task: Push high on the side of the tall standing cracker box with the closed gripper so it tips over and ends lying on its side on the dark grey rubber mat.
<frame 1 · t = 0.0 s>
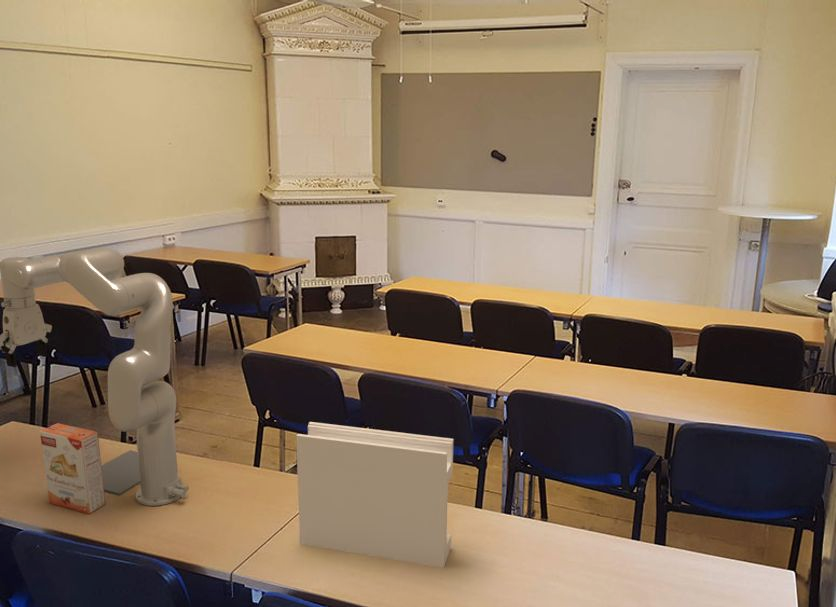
hand: (27, 361, 203), 31 cm above the table, tool pointing down, fingers open, 9 cm apart
cracker box: (77, 505, 188), on the table
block: (375, 546, 171), on the table
mat: (125, 472, 205), on the table
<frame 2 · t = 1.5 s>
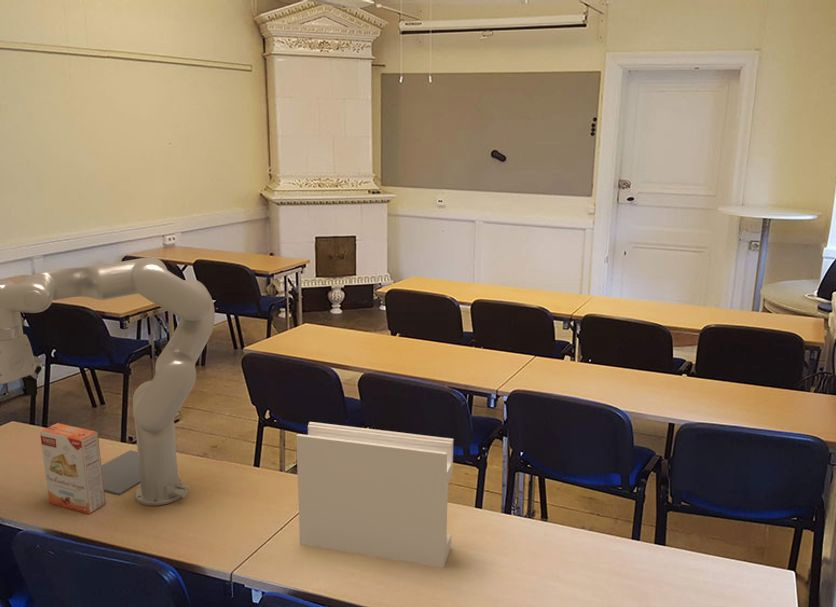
hand: (14, 400, 174), 31 cm above the table, tool pointing down, fingers open, 9 cm apart
nothing on the table moved.
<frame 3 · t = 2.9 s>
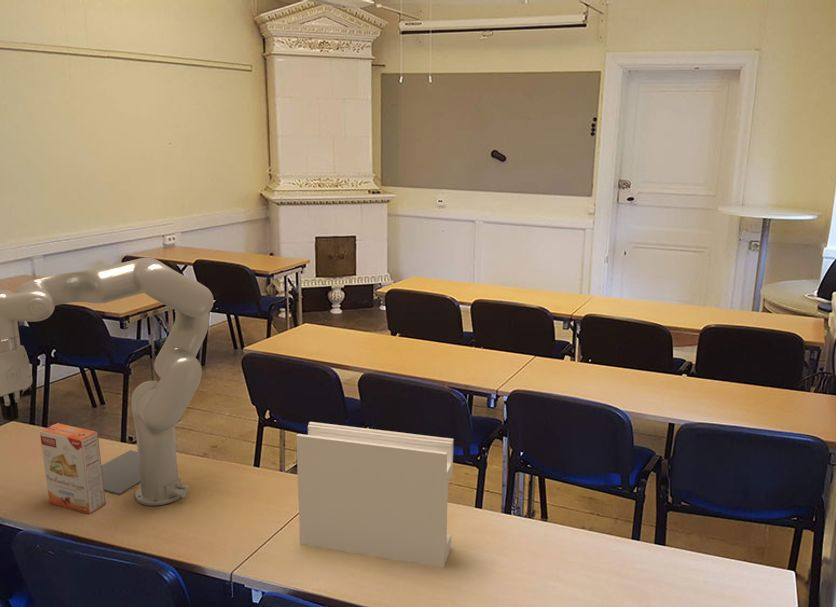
hand: (10, 418, 168), 29 cm above the table, tool pointing down, fingers closed
nothing on the table moved.
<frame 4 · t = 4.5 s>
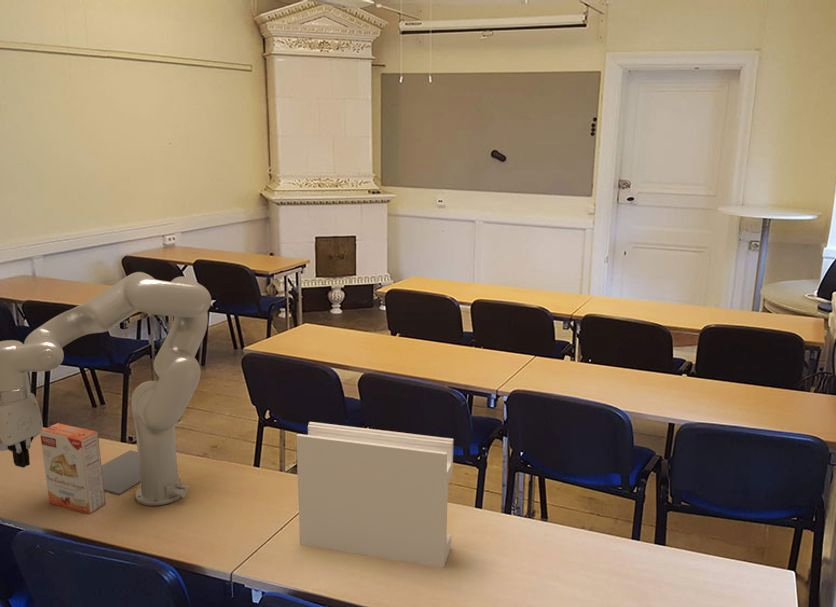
hand: (22, 465, 173), 17 cm above the table, tool pointing down, fingers closed
nothing on the table moved.
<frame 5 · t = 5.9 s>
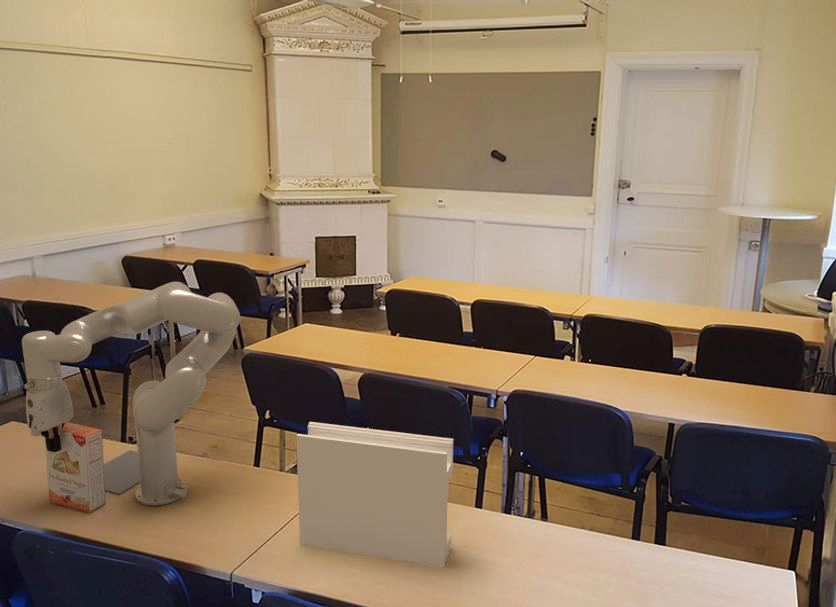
hand: (54, 450, 180), 17 cm above the table, tool pointing down, fingers closed
cracker box: (77, 504, 188), on the table, touching gripper
everything else where it was.
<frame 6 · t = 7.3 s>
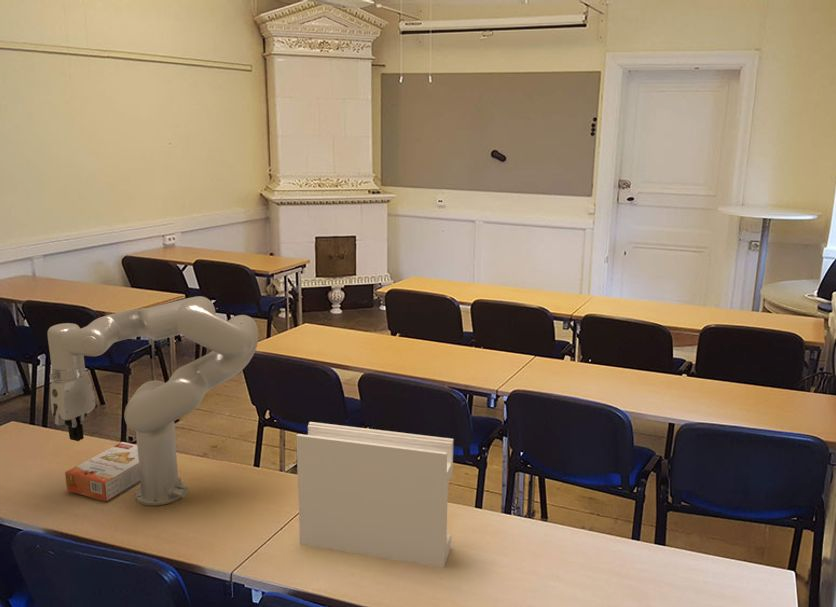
hand: (76, 439, 187), 17 cm above the table, tool pointing down, fingers closed
cracker box: (84, 486, 189), point 4 cm above the table, touching mat
everything else where it was.
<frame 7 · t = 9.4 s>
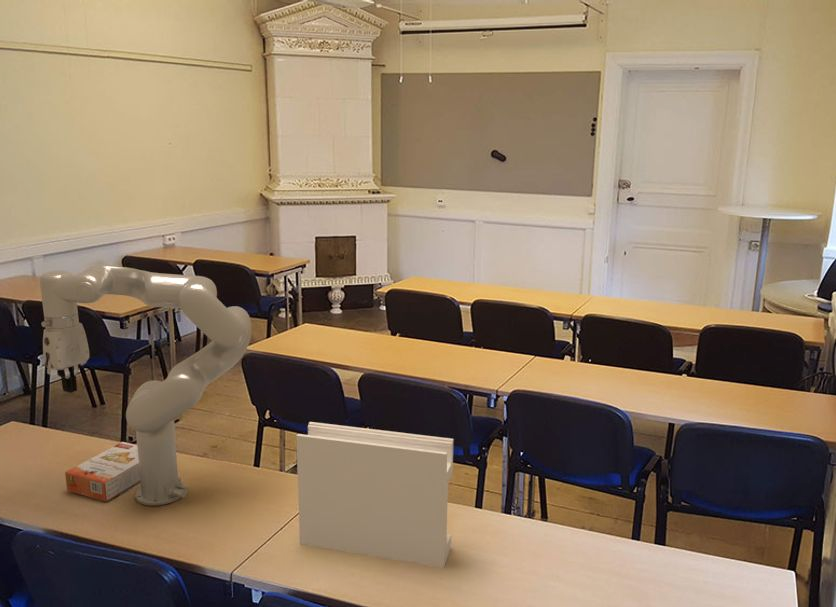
hand: (70, 390, 182), 31 cm above the table, tool pointing down, fingers closed
nothing on the table moved.
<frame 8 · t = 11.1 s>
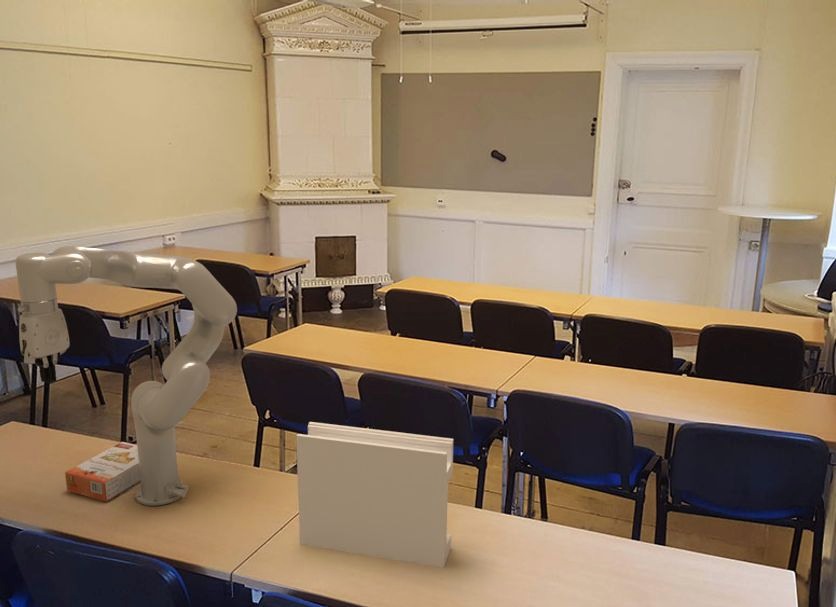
hand: (48, 381, 171), 37 cm above the table, tool pointing down, fingers closed
nothing on the table moved.
at the end: cracker box tilted 91°; cracker box touching mat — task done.
